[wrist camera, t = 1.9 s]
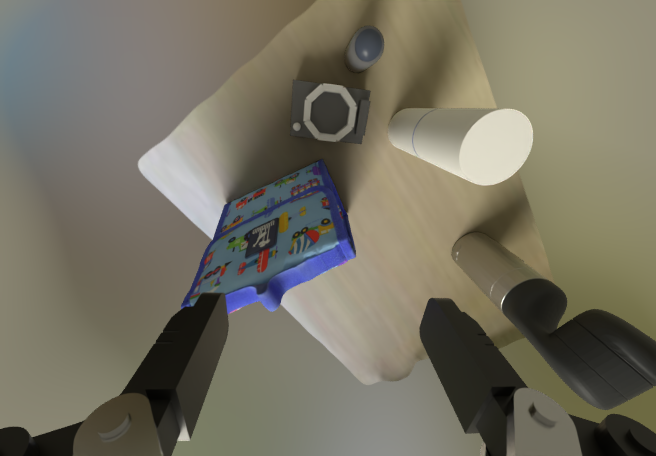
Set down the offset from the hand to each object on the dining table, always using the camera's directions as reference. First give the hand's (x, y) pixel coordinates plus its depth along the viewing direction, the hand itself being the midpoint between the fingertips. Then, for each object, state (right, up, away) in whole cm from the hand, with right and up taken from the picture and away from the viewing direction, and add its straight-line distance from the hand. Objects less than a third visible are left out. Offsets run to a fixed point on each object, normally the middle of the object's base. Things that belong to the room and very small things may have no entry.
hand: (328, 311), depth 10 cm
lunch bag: (-8, +7, +42) cm, 44 cm away
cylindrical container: (+15, +22, +37) cm, 45 cm away
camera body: (0, +24, +35) cm, 42 cm away
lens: (+5, +32, +31) cm, 45 cm away
